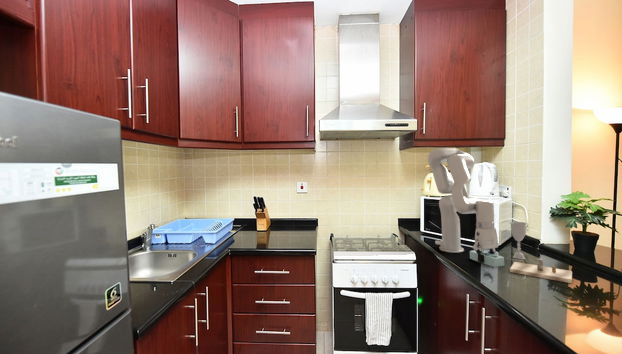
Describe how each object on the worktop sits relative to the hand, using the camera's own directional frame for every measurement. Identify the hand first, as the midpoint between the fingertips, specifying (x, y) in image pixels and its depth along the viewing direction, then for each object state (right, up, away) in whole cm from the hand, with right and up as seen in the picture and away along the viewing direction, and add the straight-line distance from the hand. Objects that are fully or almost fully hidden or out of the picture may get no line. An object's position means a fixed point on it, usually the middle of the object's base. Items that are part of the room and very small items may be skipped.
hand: (486, 260), depth 137 cm
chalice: (+20, 0, +4) cm, 20 cm away
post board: (+13, 0, -17) cm, 21 cm away
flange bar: (0, -1, 0) cm, 1 cm away
